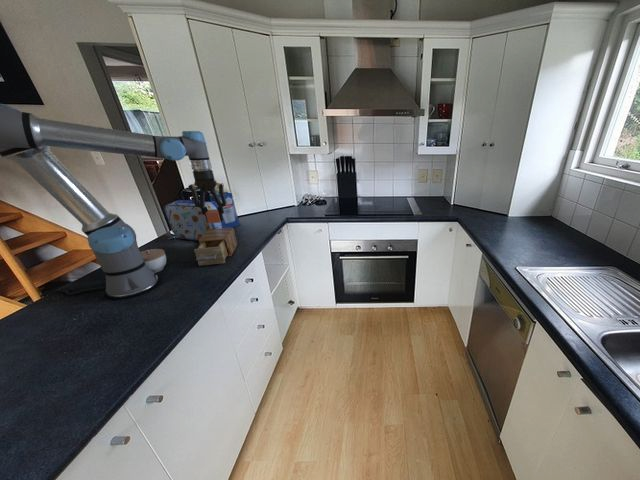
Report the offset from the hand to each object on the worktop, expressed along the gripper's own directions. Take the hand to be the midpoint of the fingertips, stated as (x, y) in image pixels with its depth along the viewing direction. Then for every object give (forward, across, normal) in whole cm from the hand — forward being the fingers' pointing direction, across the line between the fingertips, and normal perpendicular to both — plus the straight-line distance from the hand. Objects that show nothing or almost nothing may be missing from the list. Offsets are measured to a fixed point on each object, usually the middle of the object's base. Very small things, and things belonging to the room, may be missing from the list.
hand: (215, 220), depth 129 cm
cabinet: (+16, -1, +1) cm, 16 cm away
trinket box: (+17, -24, -12) cm, 32 cm away
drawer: (+15, -1, -11) cm, 19 cm away
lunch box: (+16, -15, +22) cm, 32 cm away
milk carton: (+16, -5, +40) cm, 43 cm away
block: (0, 0, 0) cm, 0 cm away
